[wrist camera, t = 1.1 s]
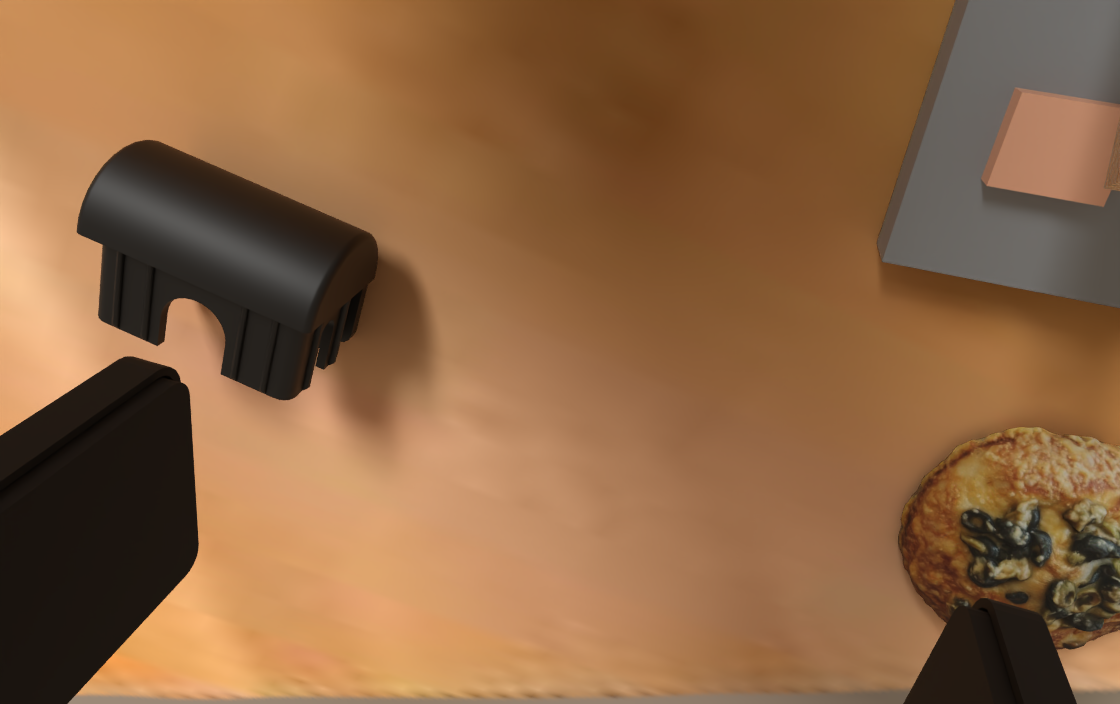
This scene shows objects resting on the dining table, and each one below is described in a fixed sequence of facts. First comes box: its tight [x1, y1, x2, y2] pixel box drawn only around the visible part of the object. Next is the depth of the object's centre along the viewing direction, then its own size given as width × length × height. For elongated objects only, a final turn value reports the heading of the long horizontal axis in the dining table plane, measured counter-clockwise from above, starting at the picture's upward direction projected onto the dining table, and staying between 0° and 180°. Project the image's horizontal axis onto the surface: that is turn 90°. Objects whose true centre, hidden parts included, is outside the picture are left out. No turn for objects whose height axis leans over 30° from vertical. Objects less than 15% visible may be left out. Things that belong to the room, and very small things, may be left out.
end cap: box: [77, 140, 378, 400], centre depth 35 cm, size 10×7×7 cm
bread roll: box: [898, 427, 1120, 649], centre depth 34 cm, size 11×11×5 cm
